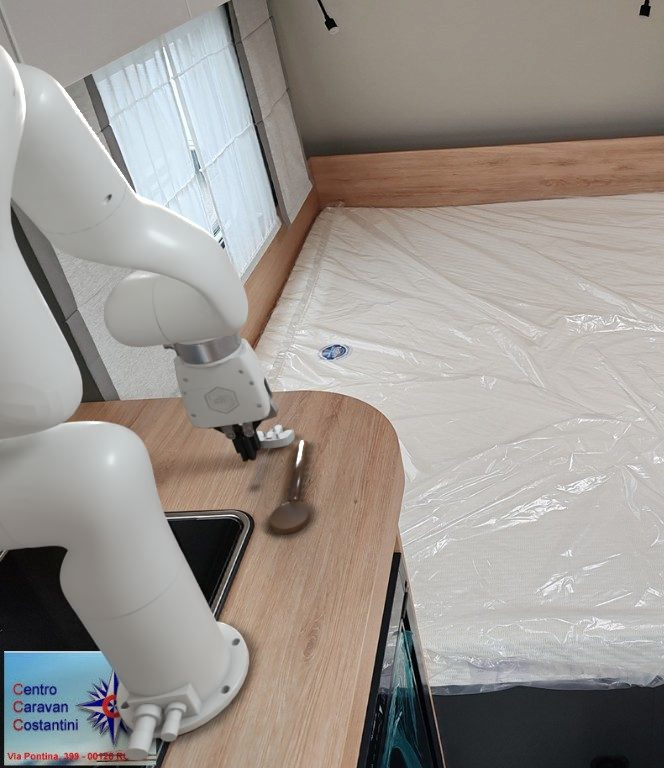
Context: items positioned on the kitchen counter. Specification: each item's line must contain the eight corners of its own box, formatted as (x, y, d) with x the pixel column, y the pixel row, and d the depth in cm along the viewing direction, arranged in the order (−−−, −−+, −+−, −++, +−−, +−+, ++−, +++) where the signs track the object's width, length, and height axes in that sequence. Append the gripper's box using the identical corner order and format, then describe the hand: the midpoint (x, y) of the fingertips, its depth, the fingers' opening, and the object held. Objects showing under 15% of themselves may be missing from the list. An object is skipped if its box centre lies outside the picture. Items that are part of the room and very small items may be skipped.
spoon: (309, 531, 92) (306, 523, 91) (269, 537, 92) (266, 529, 91) (322, 443, 106) (319, 435, 105) (287, 448, 106) (285, 440, 105)
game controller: (295, 427, 109) (290, 413, 108) (298, 478, 100) (293, 463, 99) (255, 436, 108) (250, 422, 107) (255, 488, 99) (249, 474, 98)
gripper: (138, 366, 90) (190, 481, 100) (265, 348, 90) (303, 464, 101) (155, 334, 96) (202, 445, 106) (273, 318, 96) (308, 429, 107)
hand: (251, 454), depth 104 cm, fingers closed
